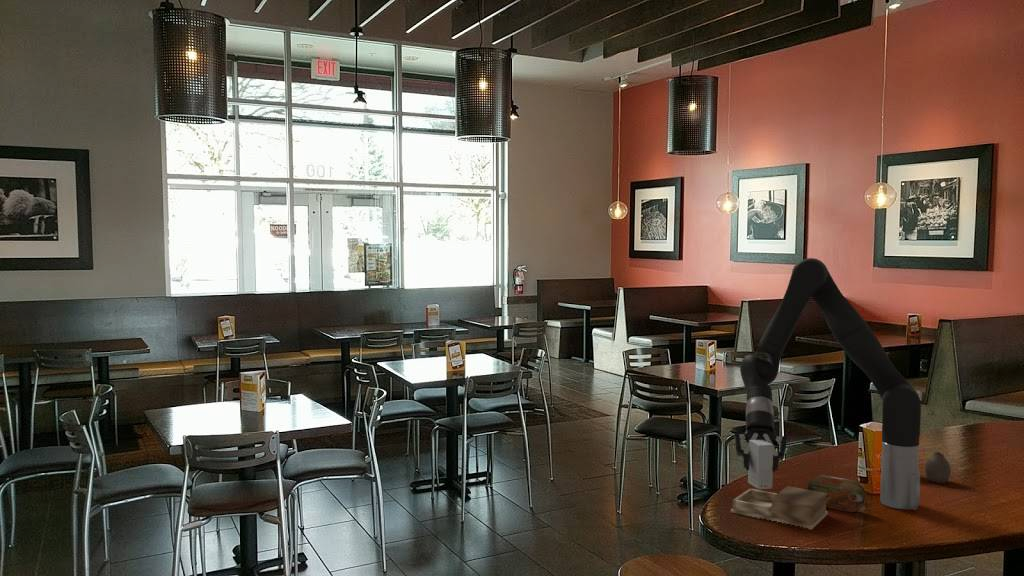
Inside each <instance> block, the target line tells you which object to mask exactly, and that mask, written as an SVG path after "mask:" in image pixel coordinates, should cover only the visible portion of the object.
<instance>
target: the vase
mask: <svg viewBox="0 0 1024 576" xmlns="http://www.w3.org/2000/svg"><path fill="white" fill-rule="evenodd" d="M924 472H925V476H926V477H927V479H928V480H929V482H931V481H932V482H931V483H934V482H936V483H935V484H941V483H942V484H945V482H946V483H947V482H948V481H949V480H950V478H951V475H952V468H951V464H950V462H949V460H948V459H946V457H945V456H944V454H943V452H938V451H934V452H933V454H932V455H931V456H930V457H929V458H928V459H927V461H926V462H925V466H924Z"/></svg>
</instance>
